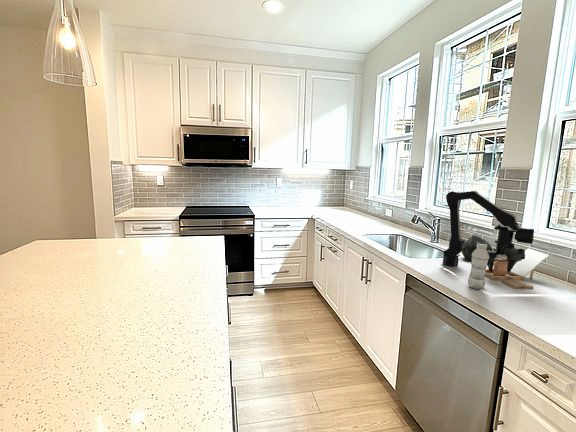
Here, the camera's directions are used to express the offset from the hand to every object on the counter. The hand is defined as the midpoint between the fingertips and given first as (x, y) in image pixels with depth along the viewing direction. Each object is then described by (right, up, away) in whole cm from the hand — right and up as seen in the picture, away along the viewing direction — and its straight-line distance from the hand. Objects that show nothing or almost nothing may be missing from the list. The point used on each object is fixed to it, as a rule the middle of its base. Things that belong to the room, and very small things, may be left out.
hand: (499, 271), depth 146 cm
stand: (0, -5, -11) cm, 12 cm away
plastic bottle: (-20, -5, -14) cm, 25 cm away
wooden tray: (0, -3, 0) cm, 3 cm away
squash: (+5, +1, +27) cm, 28 cm away
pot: (0, -2, 0) cm, 2 cm away
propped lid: (+13, -3, +2) cm, 13 cm away
